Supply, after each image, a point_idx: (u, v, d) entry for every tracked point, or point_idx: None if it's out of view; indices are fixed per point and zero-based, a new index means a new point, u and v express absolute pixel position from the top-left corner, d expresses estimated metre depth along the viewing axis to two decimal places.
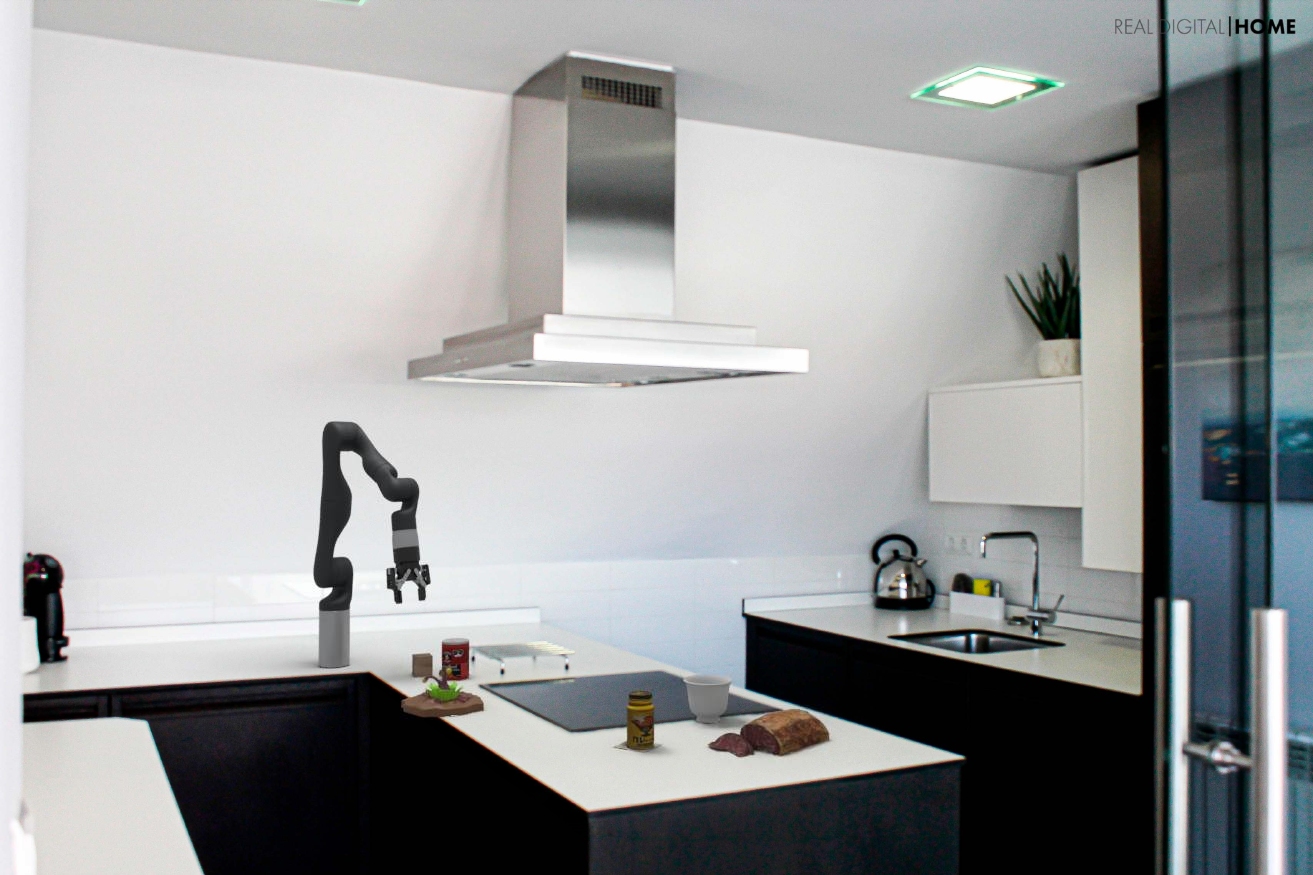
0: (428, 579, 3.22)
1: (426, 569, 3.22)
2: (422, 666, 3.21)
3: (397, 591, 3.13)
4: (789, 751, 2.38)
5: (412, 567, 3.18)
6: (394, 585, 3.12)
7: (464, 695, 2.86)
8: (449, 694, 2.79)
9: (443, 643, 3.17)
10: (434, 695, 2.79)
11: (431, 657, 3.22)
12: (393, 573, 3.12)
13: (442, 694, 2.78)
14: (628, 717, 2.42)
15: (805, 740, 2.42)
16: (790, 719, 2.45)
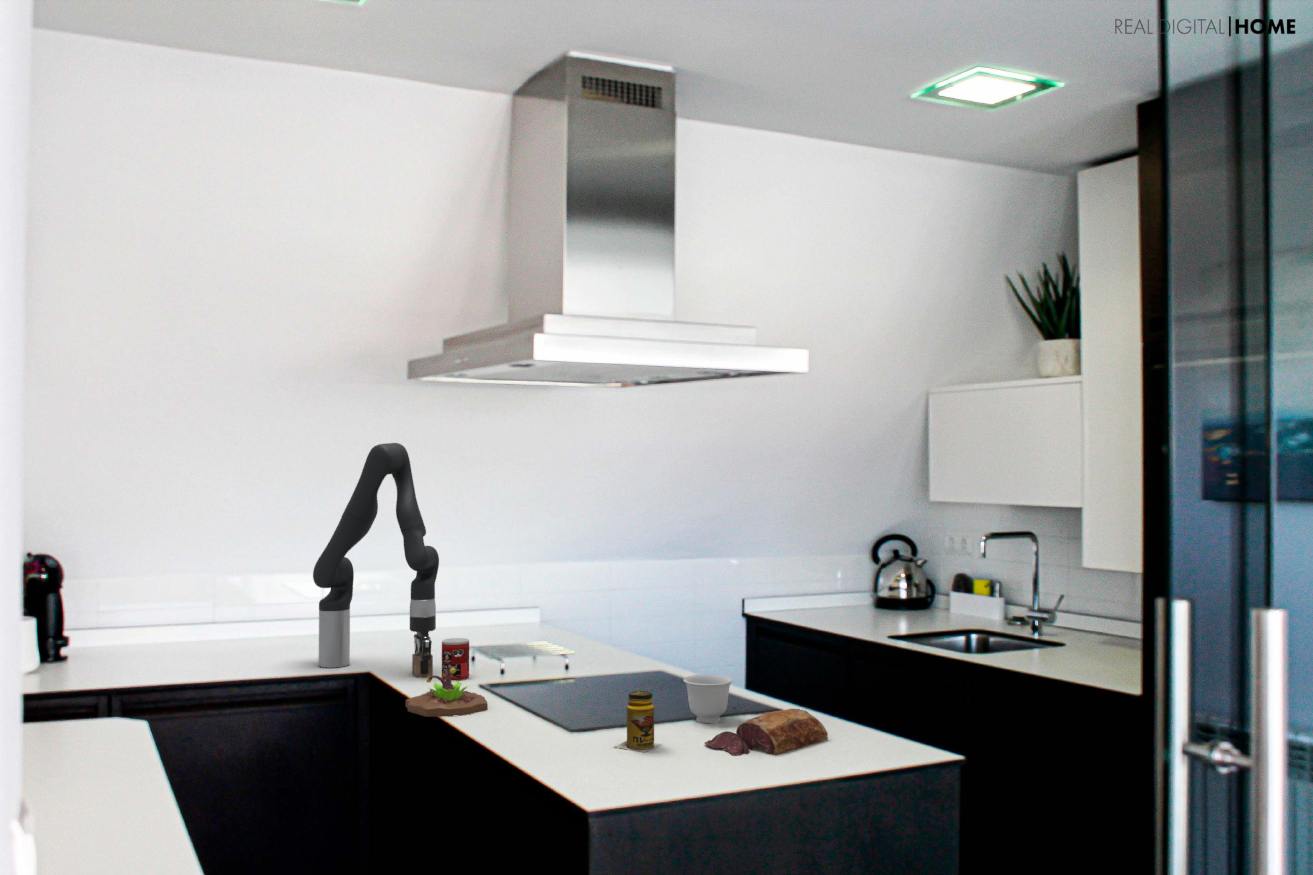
0: None
1: None
2: None
3: None
4: (784, 751, 2.38)
5: None
6: None
7: (468, 695, 2.86)
8: (453, 694, 2.79)
9: (443, 643, 3.17)
10: (438, 695, 2.79)
11: (431, 657, 3.22)
12: None
13: (445, 693, 2.78)
14: (628, 717, 2.42)
15: (801, 740, 2.42)
16: (787, 719, 2.45)
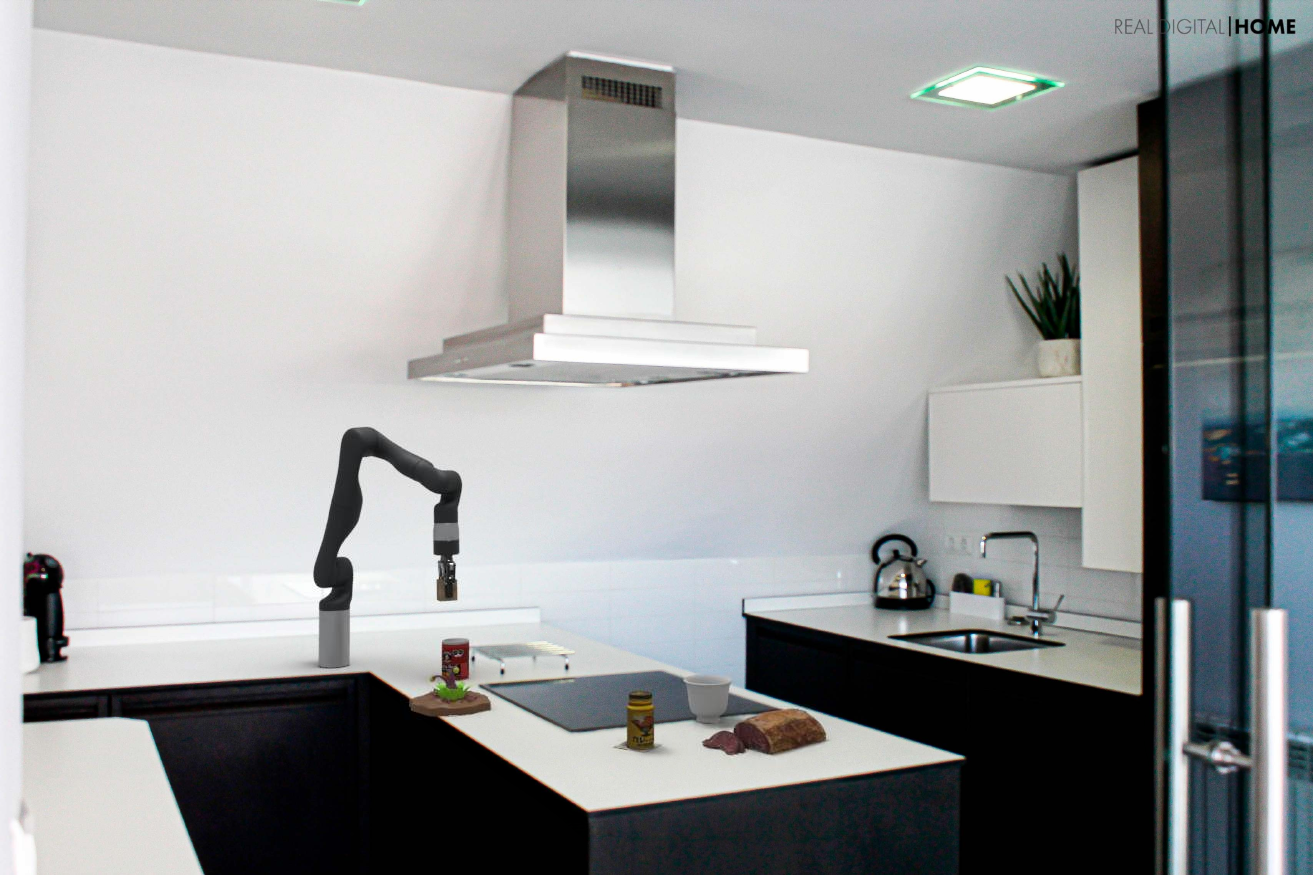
0: None
1: None
2: None
3: (451, 585, 3.18)
4: (780, 750, 2.38)
5: None
6: None
7: (472, 694, 2.87)
8: (456, 693, 2.79)
9: (443, 643, 3.17)
10: (441, 694, 2.80)
11: (455, 581, 3.19)
12: None
13: (449, 693, 2.79)
14: (628, 717, 2.42)
15: (798, 740, 2.42)
16: (784, 718, 2.46)
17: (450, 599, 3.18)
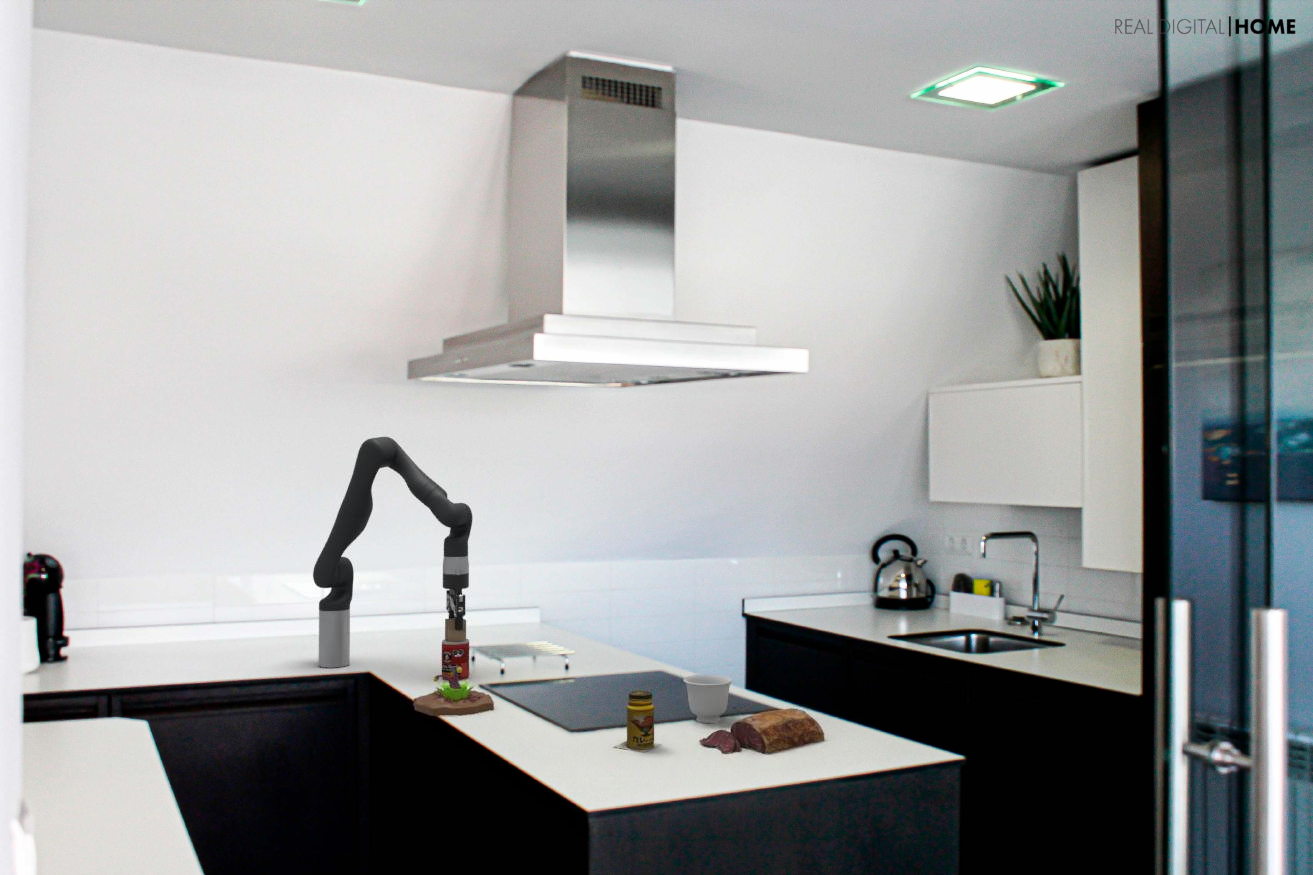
0: None
1: None
2: (456, 631, 3.17)
3: (461, 618, 3.16)
4: (776, 750, 2.39)
5: None
6: None
7: (476, 694, 2.87)
8: (459, 693, 2.80)
9: (443, 643, 3.17)
10: (445, 694, 2.80)
11: (464, 621, 3.18)
12: None
13: (452, 693, 2.79)
14: (628, 717, 2.42)
15: (795, 740, 2.43)
16: (782, 718, 2.46)
17: (459, 639, 3.18)
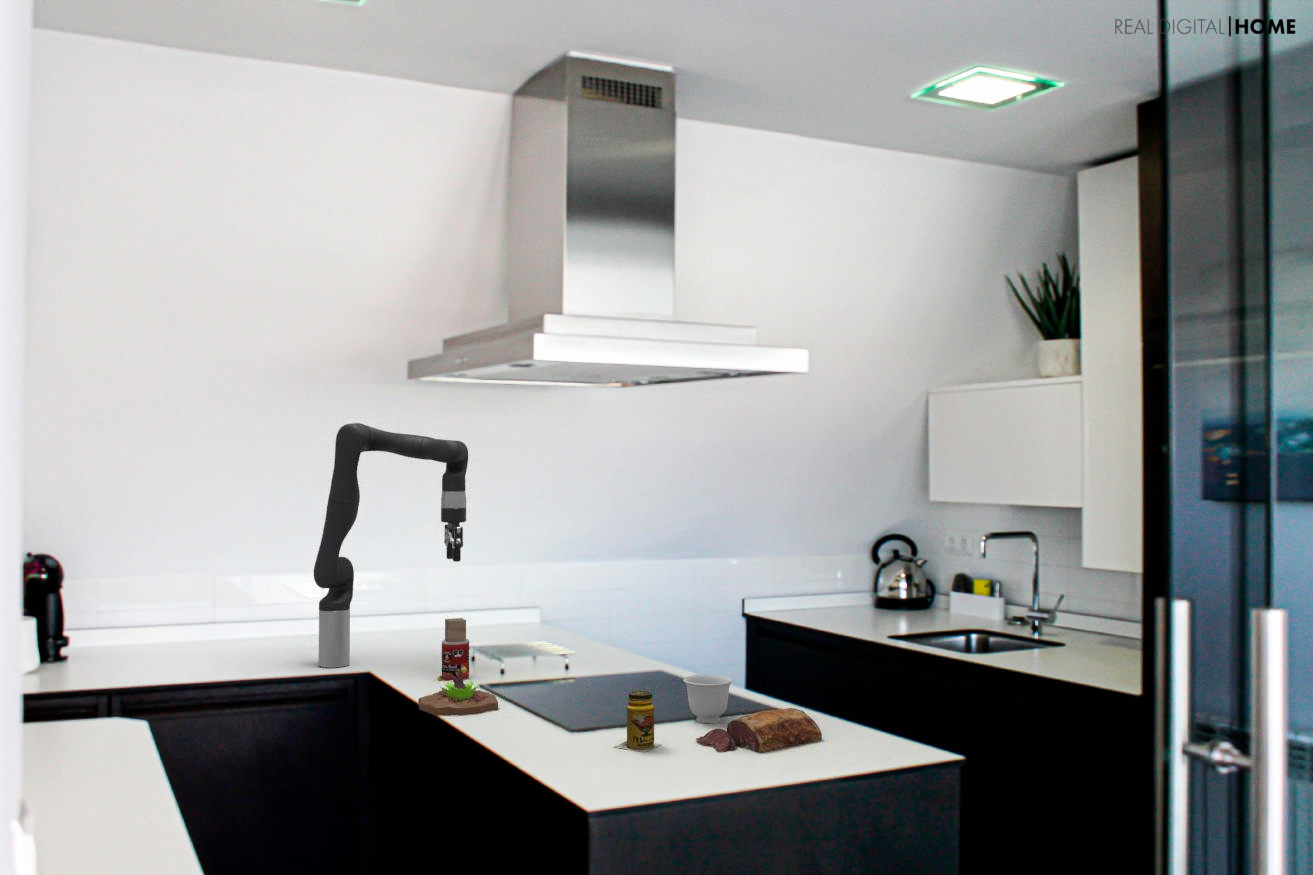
0: None
1: None
2: (456, 631, 3.17)
3: None
4: (770, 749, 2.39)
5: None
6: None
7: (480, 694, 2.87)
8: (464, 693, 2.80)
9: (443, 643, 3.17)
10: (449, 694, 2.81)
11: (464, 621, 3.18)
12: None
13: (456, 693, 2.79)
14: (628, 717, 2.42)
15: (790, 739, 2.43)
16: (778, 718, 2.46)
17: (459, 640, 3.18)
